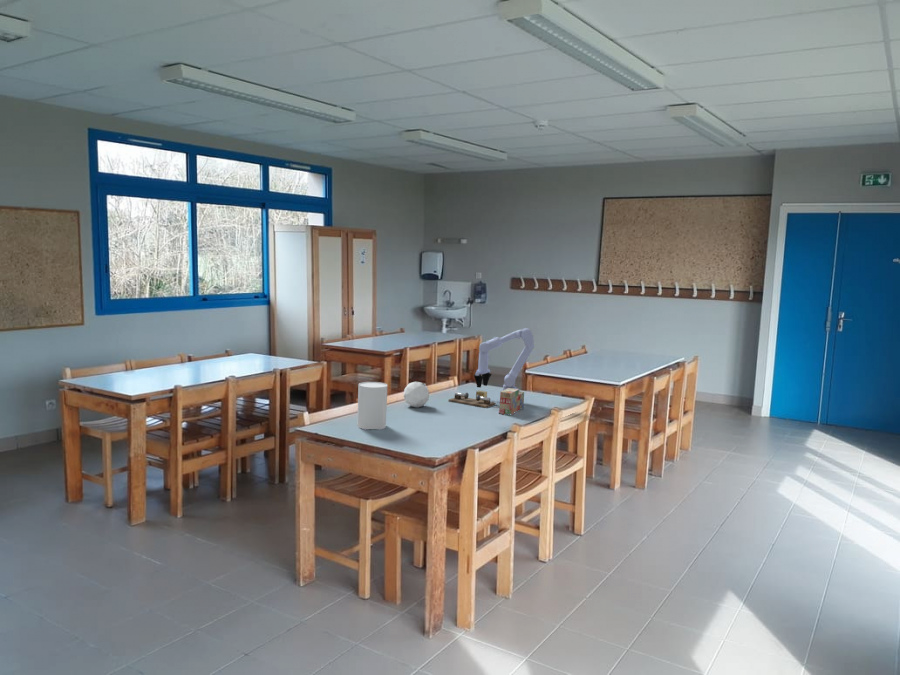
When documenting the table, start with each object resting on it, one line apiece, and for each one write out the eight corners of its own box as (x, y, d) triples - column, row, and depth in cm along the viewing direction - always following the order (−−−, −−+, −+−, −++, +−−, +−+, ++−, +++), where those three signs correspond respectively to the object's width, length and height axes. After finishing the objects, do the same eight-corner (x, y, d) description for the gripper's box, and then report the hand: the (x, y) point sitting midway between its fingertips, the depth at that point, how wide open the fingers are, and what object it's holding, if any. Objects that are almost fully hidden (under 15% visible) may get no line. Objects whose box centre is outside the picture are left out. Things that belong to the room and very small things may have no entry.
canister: (387, 429, 311) (389, 387, 309) (358, 429, 308) (359, 387, 306) (384, 422, 324) (385, 382, 322) (356, 422, 322) (357, 381, 319)
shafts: (490, 402, 374) (491, 396, 374) (487, 403, 371) (488, 397, 371) (457, 396, 385) (457, 390, 385) (453, 397, 382) (454, 391, 382)
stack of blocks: (513, 406, 375) (514, 385, 373) (523, 408, 372) (525, 386, 370) (498, 414, 355) (500, 391, 354) (509, 415, 353) (511, 392, 351)
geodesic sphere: (437, 394, 368) (423, 373, 367) (434, 399, 353) (419, 377, 353) (415, 409, 370) (401, 387, 369) (411, 415, 356) (396, 392, 355)
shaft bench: (495, 404, 377) (495, 399, 377) (485, 408, 367) (485, 402, 367) (459, 398, 390) (459, 393, 389) (448, 401, 379) (448, 396, 379)
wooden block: (486, 400, 388) (487, 391, 388) (483, 401, 385) (483, 392, 384) (479, 398, 391) (479, 390, 390) (475, 399, 387) (476, 391, 387)
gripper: (483, 361, 393) (482, 383, 395) (471, 363, 381) (469, 387, 383) (493, 362, 390) (492, 385, 391) (482, 365, 377) (480, 388, 379)
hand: (482, 386), depth 387 cm, fingers open, 7 cm apart
